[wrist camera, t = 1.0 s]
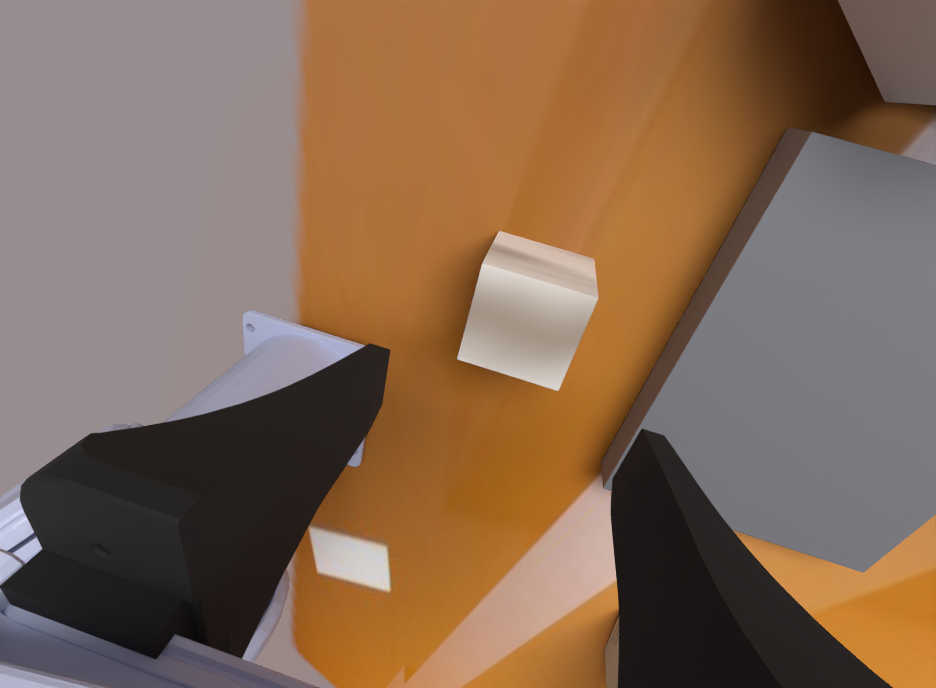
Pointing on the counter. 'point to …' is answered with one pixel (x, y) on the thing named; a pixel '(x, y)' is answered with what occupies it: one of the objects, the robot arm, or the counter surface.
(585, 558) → the counter surface
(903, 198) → the base plate
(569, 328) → the ash cube
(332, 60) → the counter surface
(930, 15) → the cable organizer
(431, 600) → the counter surface
